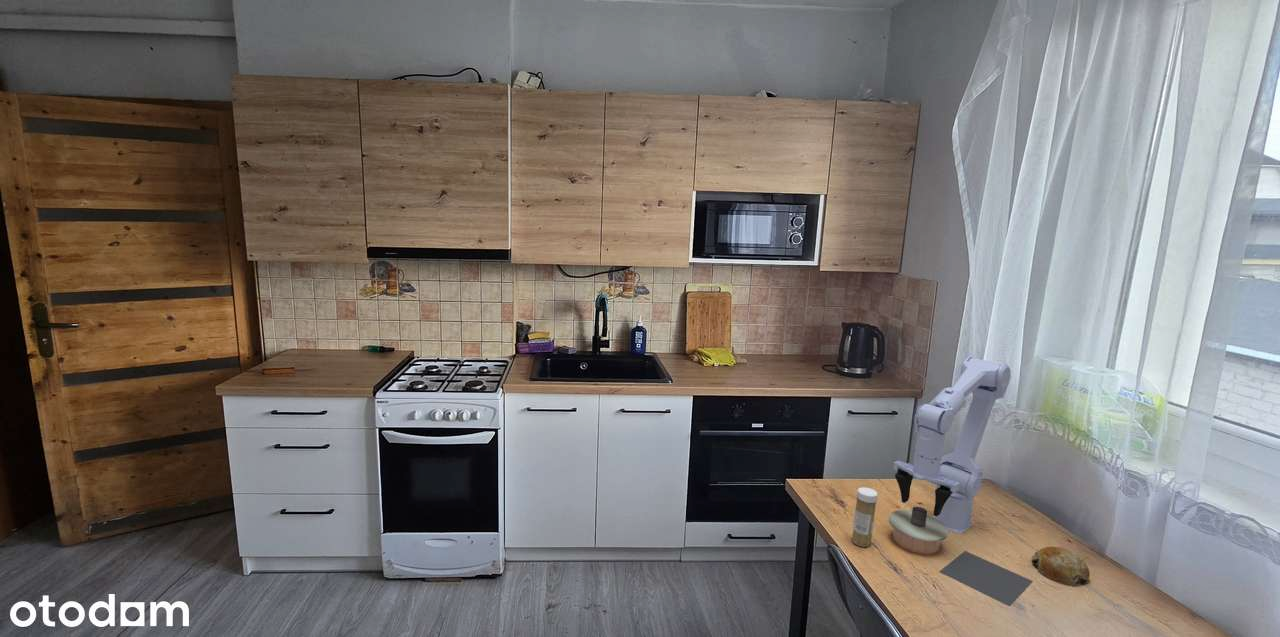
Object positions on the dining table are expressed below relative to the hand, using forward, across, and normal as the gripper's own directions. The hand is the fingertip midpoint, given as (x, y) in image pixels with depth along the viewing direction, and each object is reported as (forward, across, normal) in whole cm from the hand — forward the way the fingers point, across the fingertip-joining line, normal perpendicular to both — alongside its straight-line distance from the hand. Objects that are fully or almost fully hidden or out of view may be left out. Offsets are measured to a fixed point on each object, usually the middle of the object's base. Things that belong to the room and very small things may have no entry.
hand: (920, 507), depth 137 cm
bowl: (+9, 0, 0) cm, 9 cm away
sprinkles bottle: (+10, -8, -11) cm, 17 cm away
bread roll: (+10, +25, +15) cm, 31 cm away
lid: (+5, 0, 0) cm, 5 cm away
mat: (+9, +16, -1) cm, 19 cm away
